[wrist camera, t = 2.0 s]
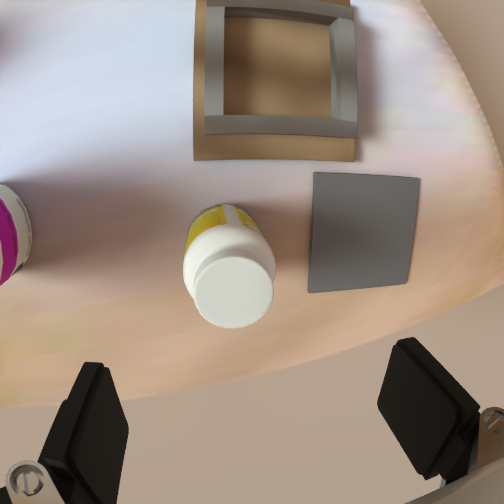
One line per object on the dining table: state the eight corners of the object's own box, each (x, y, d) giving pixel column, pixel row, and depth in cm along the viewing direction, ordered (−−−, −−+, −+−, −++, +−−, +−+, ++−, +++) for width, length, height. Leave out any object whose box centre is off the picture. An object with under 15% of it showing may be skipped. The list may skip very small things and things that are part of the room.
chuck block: (197, -9, 18) (196, -26, 15) (344, 4, 20) (360, -9, 17) (194, 160, 23) (192, 162, 20) (348, 161, 24) (366, 163, 21)
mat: (313, 172, 24) (315, 172, 24) (416, 178, 25) (419, 178, 25) (307, 291, 27) (308, 293, 27) (403, 282, 29) (406, 283, 28)
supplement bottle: (183, 265, 25) (172, 333, 16) (193, 197, 23) (185, 231, 14) (250, 274, 26) (274, 344, 17) (264, 209, 25) (299, 249, 15)
